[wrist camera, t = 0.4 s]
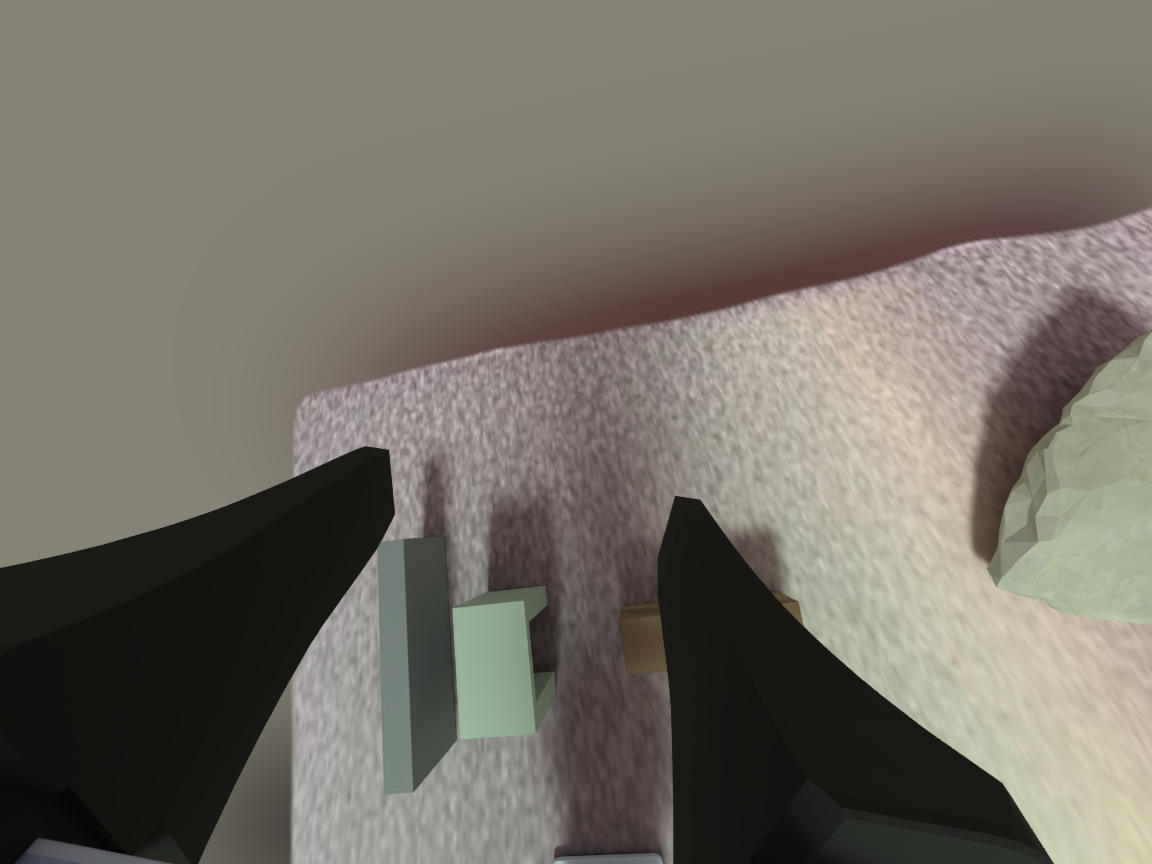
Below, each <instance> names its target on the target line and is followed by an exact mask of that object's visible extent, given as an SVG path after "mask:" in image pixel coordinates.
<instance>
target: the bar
mask: <svg viewBox="0 0 1152 864" xmlns="http://www.w3.org/2000/svg"><path fill="white" fill-rule="evenodd" d="M770 592H771V593H772V594H773V595H774V596H775V597H776V598H777V599H778V601H779V602H780V603H781V604H782V605H783V606H784V607H785V608H786V609H787V610H788V611H789V612H790V613H791V614H792V615H793V616H794V617H795V618H796V619H797V620H798V621H799V622H800V623H801V624H802V625H803V621H802V617H801V612H800V607H799V602H798V601H796V600H794V599H792V598H790V597H788V596H786V595H784V594H782V593H780V592H779V591H770ZM620 627H621V634H622V642H623V649H624V657H625V664H626V671H627V674H635V673H647V672H658V671H667V665H666V657H665V649H664V641H663V634H662V626H661V617H660V609H659V603H653V604H643V605H634V606H624V607H622V610H621V615H620Z"/></svg>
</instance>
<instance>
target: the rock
mask: <svg viewBox="0 0 1152 864" xmlns="http://www.w3.org/2000/svg"><path fill="white" fill-rule="evenodd" d="M987 570H988V571H989V573H990V575H991V577H992V579H993V581H994V583H995V585H996V587H998V588H1001V589H1003V590H1006V591H1009V592H1012V593H1015V594H1017V595H1020V596H1025V597H1030V598H1034V599H1037V598H1043V599H1044V600H1045V601H1046V602H1047V604H1048V605H1049V606H1050V607H1051V608H1053V609H1056V610H1058V611H1060V612H1063V613H1068V614H1074V615H1079V616H1084V617H1090V618H1095V619H1103V620H1112V621H1121V622H1130V623H1139V624H1148V623H1152V331H1151V332H1148V333H1146V334H1144V335H1141V336H1139V337H1138V338H1136V339H1135V340H1134V341H1133V342H1132V343H1131V344H1130V345H1129V346H1128V347H1127V348H1125V349H1124V350H1123V351H1121V352H1120V353H1119V354H1117V355H1116V356H1115V357H1113V359H1111V360H1109V361H1107V362H1105V363H1104V364H1102V365H1100V366H1098V367H1097V368H1096V370H1095V371H1094V373H1093V374H1092V375H1091V377H1090V378H1089V380H1088V381H1087V382H1086V384H1085V385H1084V386H1083V388H1082V389H1081V391H1080V392H1079V393H1078V394H1077V395H1076V396H1075V397H1074V398H1073V399H1072V400H1071V401H1070V402H1069V403H1068V404H1067V405H1066V406H1065V407H1064V408H1063V412H1062V417H1061V421H1060V423H1059V424H1058V425H1057V426H1055V427H1054V428H1052V429H1051V430H1050V431H1049V432H1048V433H1047V434H1046V435H1045V436H1043V437H1042V438H1041V439H1040V441H1039V442H1038V443H1037V444H1036V445H1035V446H1034V447H1033V449H1032V450H1031V451H1030V452H1029V453H1028V455H1027V458H1026V461H1025V464H1024V467H1023V471H1022V475H1021V477H1020V479H1019V480H1018V481H1017V483H1016V484H1015V485H1014V486H1013V488H1012V489H1011V491H1010V495H1009V498H1008V501H1007V503H1006V505H1005V507H1004V511H1003V516H1002V520H1001V524H1000V529H999V540H998V549H997V550H996V552H995V554H994V556H993V558H992V560H991V562H990V564H989V566H988V567H987Z"/></svg>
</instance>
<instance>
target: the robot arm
mask: <svg viewBox="0 0 1152 864" xmlns="http://www.w3.org/2000/svg"><path fill="white" fill-rule="evenodd" d="M394 515H395V509H394V498H393V487H392V477H391V466H390V456H389V450H386V449H380V448H374V447H367V446H365V447H362V448H359V449H356V450H354V451H352V452H349V453H347V454H345V455H342V456H340V457H338V458H336V459H334V460H331V461H329V462H327V463H325V464H323V465H321V466H318V467H316V468H314V469H312V470H310V471H307V472H305V473H303V474H301V475H299V476H296V477H294V478H292V479H290V480H288V481H285V482H283V483H281V484H278V485H276V486H274V487H271V488H269V489H267V490H264V491H262V492H259V493H257V494H255V495H252V496H250V497H247V498H245V499H242V500H240V501H238V502H235V503H233V504H230V505H228V506H225V507H222V508H219V509H217V510H214V511H211V512H208V513H206V514H203V515H200V516H197V517H194V518H191V519H188V520H185V521H182V522H179V523H176V524H173V525H170V526H167V527H163V528H160V529H156V530H153V531H149V532H146V533H142V534H139V535H135V536H132V537H128V538H125V539H121V540H118V541H114V542H111V543H107V544H104V545H100V546H96V547H92V548H88V549H83V550H79V551H75V552H71V553H67V554H63V555H59V556H54V557H50V558H45V559H41V560H36V561H32V562H27V563H23V564H18V565H13V566H8V567H4V568H0V864H198V863H199V861H200V858H201V856H202V854H203V852H204V850H205V847H206V845H207V843H208V840H209V839H210V837H211V834H212V832H213V830H214V828H215V826H216V824H217V822H218V820H219V817H220V815H221V813H222V811H223V809H224V807H225V805H226V803H227V801H228V798H229V796H230V794H231V792H232V790H233V788H234V786H235V784H236V782H237V780H238V778H239V776H240V774H241V772H242V770H243V768H244V766H245V764H246V762H247V760H248V758H249V756H250V754H251V752H252V750H253V748H254V746H255V744H256V742H257V740H258V738H259V736H260V734H261V732H262V730H263V729H264V726H265V725H266V723H267V721H268V719H269V717H270V716H271V714H272V712H273V710H274V708H275V706H276V705H277V702H278V701H279V699H280V697H281V695H282V693H283V692H284V690H285V688H286V686H287V684H288V683H289V681H290V679H291V677H292V676H293V674H294V672H295V670H296V669H297V667H298V665H299V663H300V662H301V660H302V658H303V656H304V655H305V653H306V651H307V649H308V648H309V646H310V644H311V643H312V641H313V640H314V638H315V637H316V635H317V633H318V632H319V630H320V629H321V627H322V626H323V624H324V623H325V622H326V620H327V619H328V617H329V616H330V615H331V613H332V612H333V610H334V609H335V608H336V606H337V605H338V603H339V602H340V601H341V599H342V598H343V596H344V595H345V594H346V592H347V591H348V589H349V588H350V587H351V585H352V584H353V582H354V581H355V580H356V578H357V577H358V575H359V574H360V573H361V571H362V570H363V568H364V567H365V565H366V564H367V563H368V561H369V560H370V558H371V557H372V555H373V554H374V552H375V551H376V549H377V548H378V546H379V544H380V542H381V541H382V539H383V537H384V535H385V533H386V531H387V529H388V527H389V525H390V523H391V521H392V519H393V517H394ZM658 601H659V609H660V617H661V626H662V634H663V641H664V649H665V657H666V665H667V673H668V681H669V690H670V702H671V726H672V763H673V864H1054V863H1053V862H1052V860H1051V859H1050V857H1049V855H1048V854H1047V852H1046V851H1045V849H1044V847H1043V846H1042V844H1041V843H1040V841H1039V840H1038V838H1037V836H1036V835H1035V833H1034V832H1033V830H1032V829H1031V827H1030V825H1029V824H1028V822H1027V821H1026V819H1025V817H1024V816H1023V814H1022V813H1021V811H1020V810H1019V808H1018V806H1017V805H1016V803H1015V802H1014V800H1013V799H1012V797H1011V795H1010V794H1009V792H1008V791H1007V789H1006V788H1005V786H1004V785H1003V784H1002V783H1001V782H1000V781H999V780H997V779H996V778H994V777H993V776H991V775H990V774H989V773H987V772H986V771H984V770H983V769H981V768H980V767H979V766H977V765H976V764H974V763H973V762H971V761H970V760H969V759H967V758H966V757H964V756H963V755H961V754H960V753H959V752H957V751H956V750H954V749H953V748H951V747H950V746H949V745H947V744H946V743H944V742H943V741H941V740H940V739H939V738H937V737H936V736H934V735H933V734H931V733H930V732H929V731H927V730H926V729H925V728H923V727H922V726H921V725H919V724H918V723H917V722H915V721H914V720H913V719H911V718H910V717H909V716H908V715H906V714H905V713H904V712H902V711H901V710H900V709H898V708H897V707H896V706H895V705H893V704H892V703H891V702H889V701H888V700H887V699H886V698H884V697H883V696H882V695H880V694H879V693H878V692H877V691H876V690H874V689H873V688H872V687H871V686H870V685H868V684H867V683H866V682H865V681H863V680H862V679H861V678H860V677H859V676H857V675H856V674H855V673H854V672H853V671H852V670H851V669H849V668H848V667H847V666H846V665H845V664H844V663H843V662H841V661H840V660H839V659H838V658H837V657H836V656H835V655H833V654H832V653H831V652H830V651H829V650H828V649H827V648H826V647H825V646H823V645H822V644H821V643H820V642H819V641H818V640H817V639H816V638H815V637H814V636H813V635H812V634H811V633H810V632H809V631H808V630H807V629H806V628H805V627H804V626H803V625H802V624H801V623H800V622H799V621H798V620H797V619H796V618H795V617H794V616H793V615H792V614H791V613H790V612H789V611H788V610H787V609H786V608H785V607H784V606H783V605H782V604H781V603H780V602H779V601H778V599H777V598H776V597H775V596H774V595H773V594H772V593H771V592H770V590H769V589H768V588H767V587H766V586H765V585H764V583H763V582H762V581H761V580H760V579H759V578H758V576H757V575H756V574H755V573H754V572H753V570H752V569H751V568H750V567H749V565H748V564H747V563H746V562H745V560H744V559H743V558H742V557H741V555H740V554H739V553H738V551H737V550H736V549H735V548H734V546H733V545H732V544H731V542H730V541H729V539H728V538H727V537H726V535H725V534H724V533H723V531H722V530H721V528H720V527H719V526H718V524H717V523H716V521H715V520H714V518H713V517H712V516H711V514H710V513H709V511H708V510H707V509H706V507H705V506H704V504H703V503H702V502H701V500H698V499H692V498H686V497H680V496H675V499H674V502H673V506H672V509H671V513H670V516H669V520H668V523H667V527H666V531H665V534H664V538H663V541H662V545H661V548H660V552H659V555H658ZM553 864H663V859H662V857H661V856H660V855H659V854H658V853H642V854H617V855H591V856H566V857H557V858H556V859H555V860H554V862H553Z"/></svg>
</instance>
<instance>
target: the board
mask: <svg viewBox="0 0 1152 864" xmlns="http://www.w3.org/2000/svg"><path fill="white" fill-rule="evenodd" d="M378 583H379V621H380V659H381V696H382V734H383V772H384V794H398V793H413V792H414V791H415V790H416V789H417V787H418V786H419V785H420V784H421V783H422V781H423V780H424V779H425V778H426V777H427V775H428V774H429V773H430V772H431V771H432V769H433V768H434V767H435V766H436V765H437V763H438V762H439V761H440V760H441V759H442V757H443V756H444V755H445V754H446V753H447V751H448V750H449V749H450V748H451V747H452V745H453V744H454V743H455V742H456V725H455V708H454V690H453V673H452V655H451V638H450V620H449V603H448V585H447V568H446V550H445V536H436V537H424V538H411V539H400V540H392V541H384V542H380V544H379V546H378Z"/></svg>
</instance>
